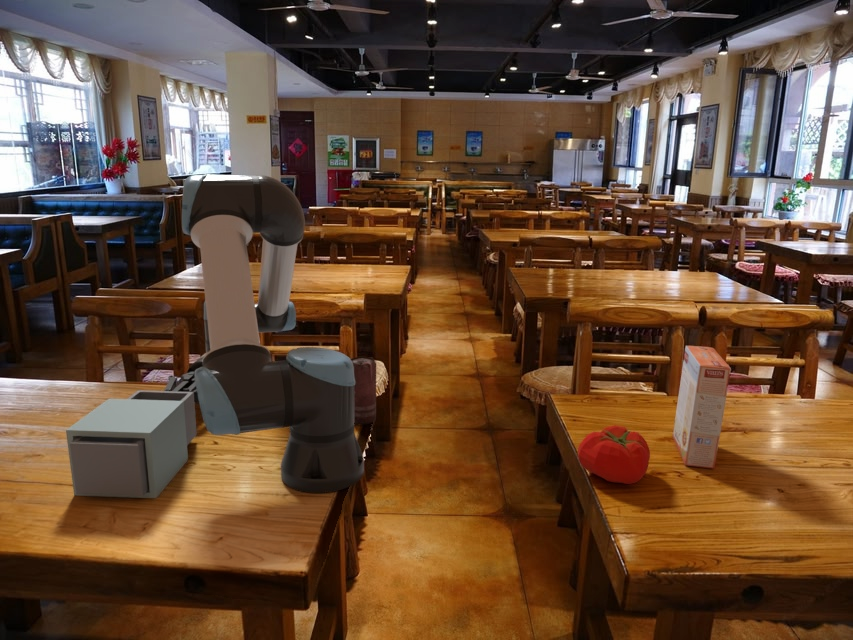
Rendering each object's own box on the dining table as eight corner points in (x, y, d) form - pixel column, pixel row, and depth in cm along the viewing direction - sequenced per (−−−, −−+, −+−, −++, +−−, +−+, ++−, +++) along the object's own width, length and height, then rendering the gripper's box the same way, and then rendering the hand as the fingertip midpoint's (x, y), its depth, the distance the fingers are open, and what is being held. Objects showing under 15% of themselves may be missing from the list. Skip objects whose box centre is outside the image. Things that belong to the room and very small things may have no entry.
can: (363, 428, 137) (363, 366, 133) (342, 420, 141) (342, 360, 137) (382, 419, 142) (382, 359, 138) (361, 412, 145) (361, 353, 142)
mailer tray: (141, 432, 129) (137, 390, 126) (196, 434, 129) (193, 392, 126) (76, 493, 106) (69, 443, 103) (142, 496, 105) (137, 445, 103)
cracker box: (716, 470, 122) (732, 367, 117) (683, 466, 123) (698, 364, 118) (701, 439, 136) (715, 346, 130) (671, 436, 137) (684, 343, 131)
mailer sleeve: (115, 457, 121) (108, 398, 118) (188, 459, 121) (183, 400, 118) (74, 495, 107) (65, 430, 104) (156, 498, 107) (150, 432, 104)
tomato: (599, 499, 111) (604, 453, 109) (565, 465, 123) (569, 423, 120) (667, 490, 115) (673, 445, 112) (628, 458, 126) (633, 417, 124)
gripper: (236, 387, 151) (200, 428, 128) (182, 385, 152) (136, 426, 129) (235, 357, 149) (197, 393, 127) (180, 355, 150) (132, 391, 127)
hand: (166, 410), depth 128 cm, fingers closed
